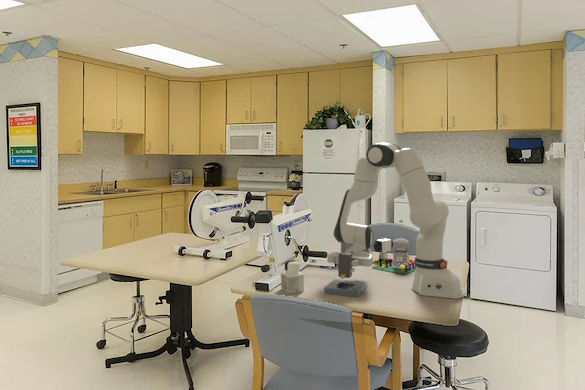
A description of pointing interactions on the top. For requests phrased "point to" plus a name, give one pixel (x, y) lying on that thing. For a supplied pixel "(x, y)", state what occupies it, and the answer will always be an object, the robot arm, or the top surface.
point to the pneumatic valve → (383, 247)
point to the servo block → (345, 265)
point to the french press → (403, 252)
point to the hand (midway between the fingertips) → (344, 263)
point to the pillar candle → (345, 246)
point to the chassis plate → (352, 287)
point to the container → (292, 277)
